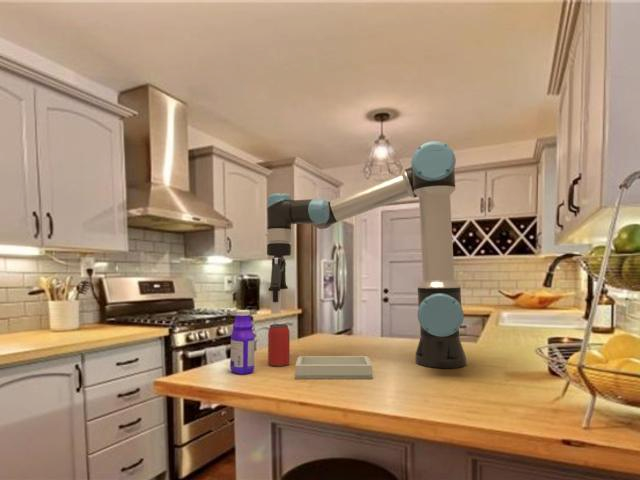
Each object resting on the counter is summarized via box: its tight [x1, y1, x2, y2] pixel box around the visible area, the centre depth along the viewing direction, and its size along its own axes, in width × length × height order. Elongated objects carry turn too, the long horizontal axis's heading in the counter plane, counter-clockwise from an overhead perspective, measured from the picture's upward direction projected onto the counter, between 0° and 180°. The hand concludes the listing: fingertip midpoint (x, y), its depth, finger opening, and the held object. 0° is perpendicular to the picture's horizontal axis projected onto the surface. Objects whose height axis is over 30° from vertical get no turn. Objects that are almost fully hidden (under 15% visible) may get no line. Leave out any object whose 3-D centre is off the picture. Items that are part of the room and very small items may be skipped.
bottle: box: [229, 309, 256, 375], centre depth 117 cm, size 7×6×17 cm
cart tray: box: [294, 355, 373, 380], centre depth 115 cm, size 20×12×4 cm, turn 89°
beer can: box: [267, 323, 291, 368], centre depth 126 cm, size 7×7×12 cm
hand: (278, 311), depth 127 cm, fingers open, 13 cm apart
